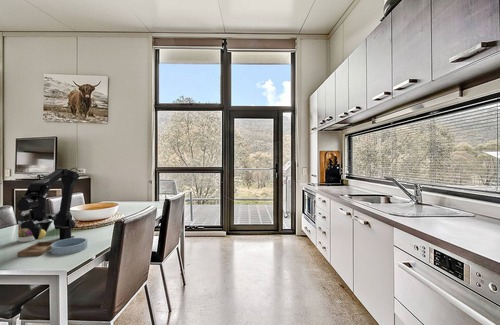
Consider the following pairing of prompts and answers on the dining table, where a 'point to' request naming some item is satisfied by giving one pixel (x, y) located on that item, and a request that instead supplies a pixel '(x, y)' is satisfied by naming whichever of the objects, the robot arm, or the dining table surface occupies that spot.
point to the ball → (42, 234)
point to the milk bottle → (24, 231)
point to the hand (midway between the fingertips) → (39, 237)
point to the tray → (36, 249)
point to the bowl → (68, 246)
